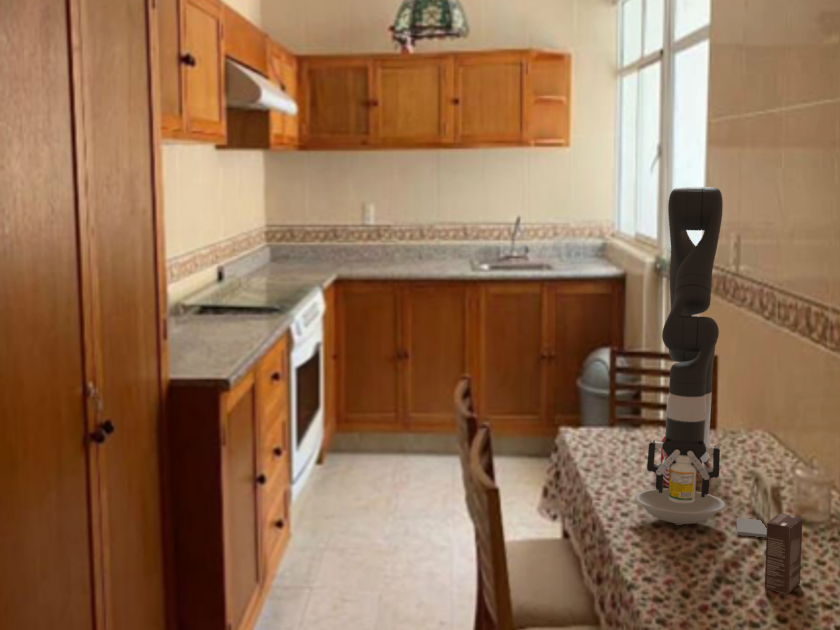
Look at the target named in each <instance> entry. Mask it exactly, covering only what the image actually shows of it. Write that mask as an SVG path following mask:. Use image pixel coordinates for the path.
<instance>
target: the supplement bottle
mask: <svg viewBox="0 0 840 630" xmlns="http://www.w3.org/2000/svg"><path fill="white" fill-rule="evenodd" d="M675 461H676V463H671V464H670V471H669V487H668V489H669V490H668V497H669V499H670V500H671V501H673V502H676V503H681V504H689V503H693V502H694V501H695V497H696V491H697V477H698V470H697V468H696V467H695V465H692V464H691V463H693V462H692V461H691V459H690V458H689V457H688V455H679V456H678V457H677V458H676V459H675Z"/></svg>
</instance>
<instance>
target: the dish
mask: <svg viewBox="0 0 840 630" xmlns="http://www.w3.org/2000/svg"><path fill="white" fill-rule="evenodd" d="M668 490H669V488H663V492H662V493H659V490H656V488H652V489H646V490H642V491H639V492H637V493H636V494H635V495H634V500H635V501H636V502H637V503H638V504H640V505H641V507H643V509H644V510H645V511H646V512H647V513H649V514H650V515H652V516H653V517H655V518H657V519H658V520H661V521H664V522H667V523H668V522H669V523H672V524H674V525H676V526H683V525H690V524H691V525H692V524H698V523H702V522H704V521H707V520H708V519H710V518H712V517H714V515H716V514H717V513H718V512H720V511H723V510H724V509H725V508H726V503H725V501H723V500H722V499H721V498H720V497H717V496H715V495H712V494H710V493H708V495H705V497H701V491H697V490H696V497H695V501H694V502H693V503H689V504H681V503H676V502H673V501H671V500H670V499H669V497H668Z"/></svg>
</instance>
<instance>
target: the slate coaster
mask: <svg viewBox="0 0 840 630" xmlns="http://www.w3.org/2000/svg"><path fill="white" fill-rule="evenodd" d="M736 535H737V536H739V535H741V537H748V536H758V537H764V538H763V539H766V538H767V528H766V527H765V525H764V524H763V523H762V521H761V519H753V518H744V517H743V518H742V517H736ZM765 537H766V538H765Z"/></svg>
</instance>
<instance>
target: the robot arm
mask: <svg viewBox="0 0 840 630" xmlns="http://www.w3.org/2000/svg"><path fill="white" fill-rule="evenodd" d="M723 205H724V203H723V193H722V191H721V190H720V189H719V188H717V187H712V186H711V187H709V186H681V187H680V186H679V187H675V188H673V190H672V191H671V192H670V194H669V198H668V204H667V206H668V207H667V208H668V209H667V212H668V227H669V228H668V229H669V239H670V261H669V263H670V264H669V265H670V267H669V294H670V297H669V299H670V310H669V311H670V312H669V314H668V315H667V319H666V320H665V322H664V325H663V329H662V334H661V335H662V336H661V338H662V342H663V344H664V347H666V348H667V349H668V354H669V357H670V359H671V360H673V361H674V362H676V363H673V364H672V365H671V366H670V370H669V385H668V386H669V387H668V395H667V396H668V397H667V402H666V410H665V411H666V413H665V414H666V416H665V417H666V418H665V419H666V421H665V433H666V435H665V434H664V437H665V441H664V442H662V441H656V440H655V439H650V441H649V443H648V452H647V463H646V470H647V472H652V473H654V474H655V489H656V490H659V493H662V492H663V489H664V484H663V478H664V473H663V472H664V471H665V470H666V468H668V467H669V466H670V464H671V463H676V461H675V459H676V458H677V457H678V456H679V455H688V457H689V458H690V459H691V461H692V462H693V463H691V464H692V465H695V467H696V468H697V472H699V474H700V475H701V477H702V479H701V491H700V492H701V497H705V495H708V494H710V493H709V492H710V491H709V490H710V480H711V479H713V478H715V479H716V478H719V477H720V464H721V463H720V460H721V457H720V455H721V447H720V446H719V445H718V444H717V445H713V446H709V444H710V427H711V410H712V409H711V408H712V394H713V393H712V390H713V387H712V386H713V369H714V362H715V361H714V360H715V355H716V354H715V351H716V345H717V342H718V339H719V336H720V335H719V333H720V331H719V330H720V329H719V326H718V324H717V322H716V320H715V319H713V318H712V317H709V316H696V315H699V314H702V313H704V312H707V310H709V308H710V306H711V297H712V285H713V284H712V282H713V281H712V279H713V270H714V262H715V258H716V253H717V250H718V245H719V244H718V243H719V239H720V232H721V226H722V220H723V209H724V207H723ZM688 231H703V234H702V236H701V238H700V240H699V241H698V243H697V244H696V245H695V244H694V243H693V240H692V239H691V237H690V235H689V234H688ZM661 448H663V450H664V451H665V453H666V454H667V456H666V457H665V458H664V460H663V461H662V462H661V461H660V464H659V465H657V464H655V458H656V457H655V456H656V453H659V451H660V449H661ZM709 457H710V459H713V460H712V469H710V470H709V468H707V466H706V465H705V463H707V462H708V459H709Z"/></svg>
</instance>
